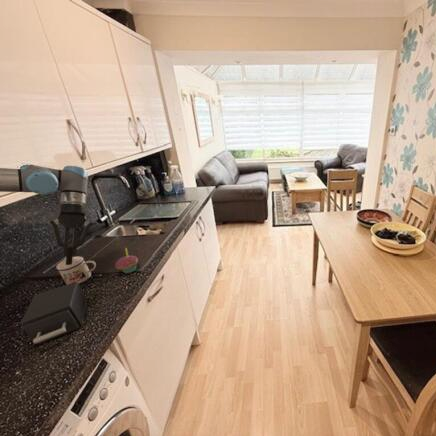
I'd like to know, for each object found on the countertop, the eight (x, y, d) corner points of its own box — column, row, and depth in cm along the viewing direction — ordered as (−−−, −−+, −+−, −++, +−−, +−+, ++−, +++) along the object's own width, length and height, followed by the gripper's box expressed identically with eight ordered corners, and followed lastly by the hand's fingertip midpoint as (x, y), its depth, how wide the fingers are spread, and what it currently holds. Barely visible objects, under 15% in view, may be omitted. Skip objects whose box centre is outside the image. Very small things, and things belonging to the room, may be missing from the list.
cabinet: (83, 326, 80) (69, 305, 76) (36, 345, 74) (19, 323, 70) (88, 300, 91) (76, 281, 87) (48, 315, 86) (34, 295, 82)
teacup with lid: (63, 289, 98) (49, 266, 93) (68, 278, 105) (55, 256, 100) (99, 278, 104) (87, 256, 99) (101, 268, 111) (90, 246, 106)
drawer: (77, 336, 75) (65, 319, 72) (33, 355, 70) (18, 337, 67) (84, 303, 89) (74, 287, 85) (47, 316, 84) (36, 300, 81)
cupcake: (140, 262, 112) (131, 241, 107) (141, 271, 106) (132, 249, 101) (119, 269, 108) (108, 247, 103) (119, 279, 102) (107, 256, 97)
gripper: (51, 200, 88) (45, 265, 84) (96, 204, 98) (92, 263, 94) (49, 204, 93) (43, 266, 89) (92, 208, 102) (88, 263, 99)
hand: (68, 264), depth 91 cm, fingers closed
